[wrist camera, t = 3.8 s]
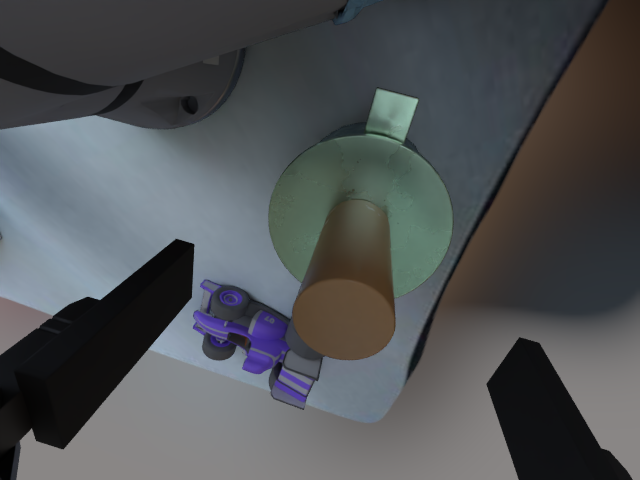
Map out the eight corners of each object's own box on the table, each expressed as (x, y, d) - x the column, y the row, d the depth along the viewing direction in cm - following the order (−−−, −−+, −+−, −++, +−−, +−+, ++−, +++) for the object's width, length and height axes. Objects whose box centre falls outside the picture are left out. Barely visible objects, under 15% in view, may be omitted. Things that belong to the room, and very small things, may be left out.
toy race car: (207, 268, 35) (173, 306, 29) (339, 317, 35) (331, 365, 29) (195, 330, 40) (163, 374, 34) (313, 374, 40) (301, 425, 34)
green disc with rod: (262, 269, 24) (197, 376, 16) (289, 109, 19) (213, 140, 10) (412, 311, 24) (429, 447, 15) (482, 160, 18) (571, 237, 10)
